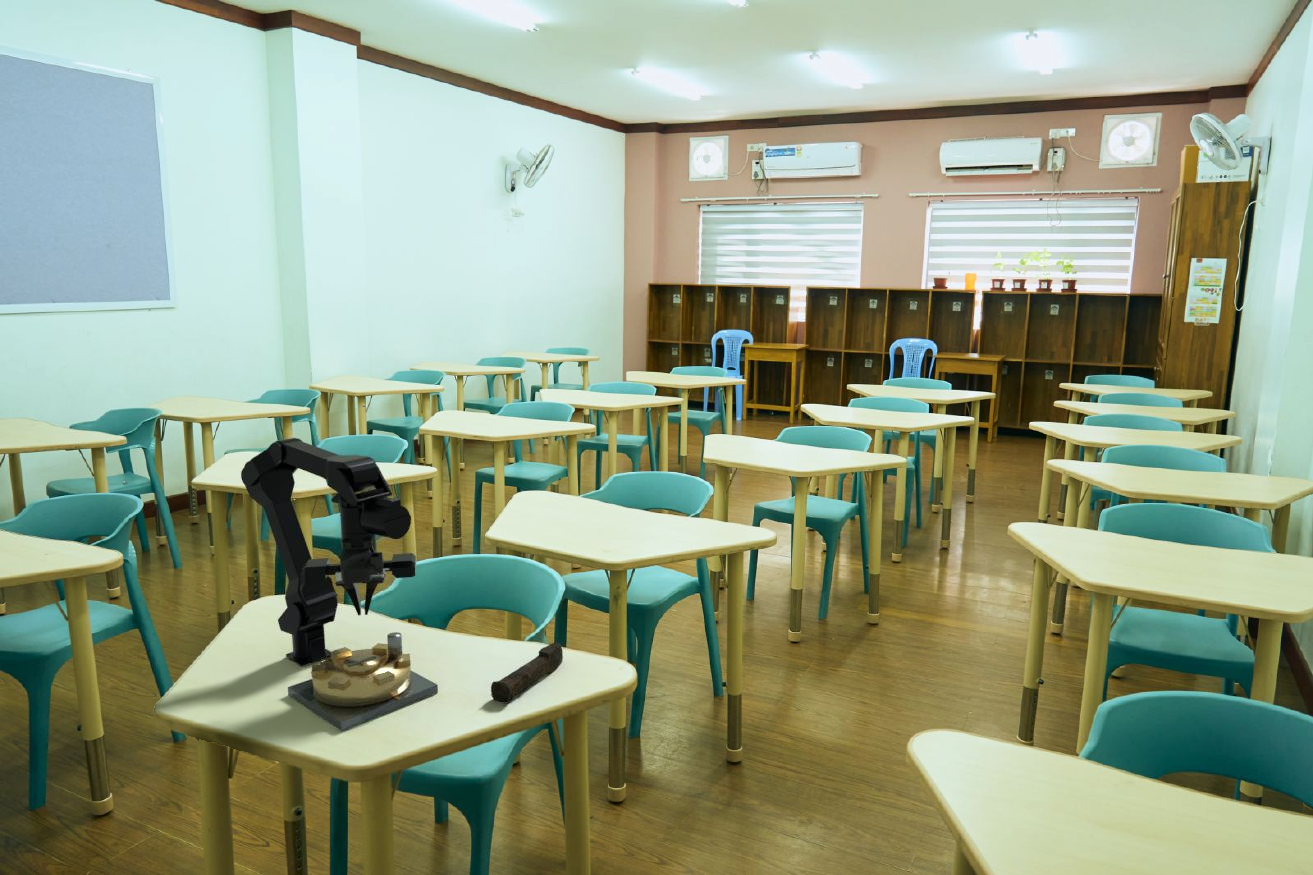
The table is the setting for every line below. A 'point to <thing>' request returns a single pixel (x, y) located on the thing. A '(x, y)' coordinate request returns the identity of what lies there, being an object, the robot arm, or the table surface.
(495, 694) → the rough bark branch
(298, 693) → the base plate
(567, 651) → the table surface
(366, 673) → the ring nut
